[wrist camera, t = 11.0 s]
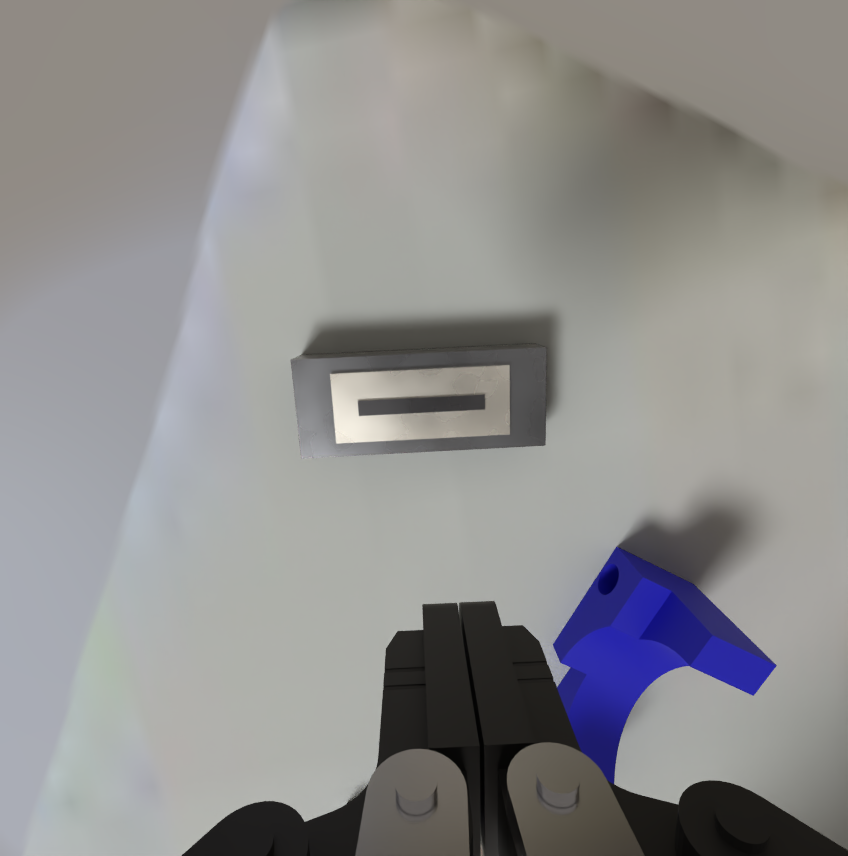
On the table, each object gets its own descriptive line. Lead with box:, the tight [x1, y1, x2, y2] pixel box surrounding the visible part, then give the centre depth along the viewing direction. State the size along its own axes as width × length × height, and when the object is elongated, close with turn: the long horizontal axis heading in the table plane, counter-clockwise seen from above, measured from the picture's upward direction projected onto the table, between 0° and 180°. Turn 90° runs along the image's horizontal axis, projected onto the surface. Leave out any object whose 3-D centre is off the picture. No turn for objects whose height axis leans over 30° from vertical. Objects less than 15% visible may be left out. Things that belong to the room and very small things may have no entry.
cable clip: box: [553, 547, 777, 784], centre depth 23 cm, size 12×4×6 cm, turn 153°
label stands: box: [291, 344, 546, 856], centre depth 24 cm, size 10×28×2 cm, turn 3°
